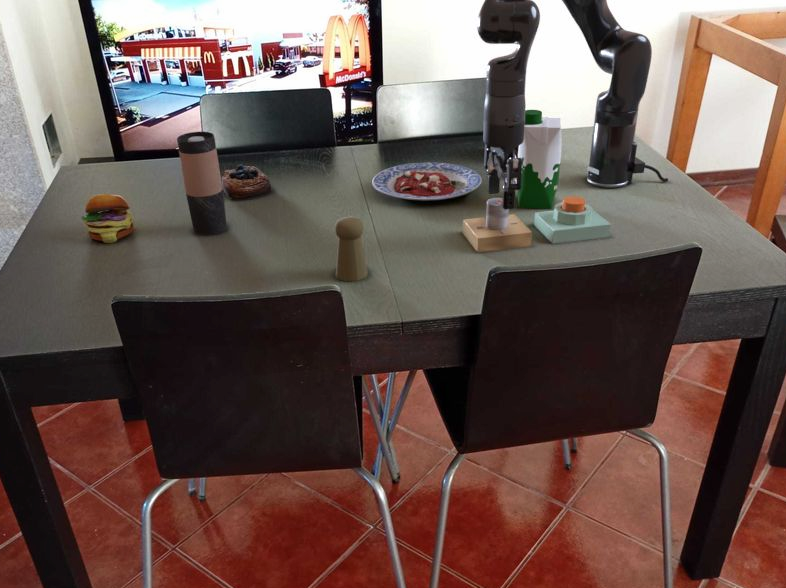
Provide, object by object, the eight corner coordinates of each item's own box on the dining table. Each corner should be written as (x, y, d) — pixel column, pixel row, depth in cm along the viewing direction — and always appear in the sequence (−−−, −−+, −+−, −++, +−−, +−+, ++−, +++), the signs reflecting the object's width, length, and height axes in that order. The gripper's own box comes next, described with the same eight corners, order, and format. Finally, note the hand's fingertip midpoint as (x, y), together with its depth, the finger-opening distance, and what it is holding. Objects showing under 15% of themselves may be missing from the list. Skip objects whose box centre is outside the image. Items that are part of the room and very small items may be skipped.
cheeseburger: (84, 247, 158) (73, 198, 155) (92, 239, 168) (82, 194, 165) (134, 241, 159) (124, 192, 156) (139, 233, 169) (130, 188, 166)
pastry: (260, 179, 190) (258, 156, 187) (276, 194, 181) (274, 170, 178) (218, 187, 187) (214, 164, 183) (232, 202, 177) (228, 178, 174)
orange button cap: (578, 204, 155) (579, 195, 154) (588, 212, 152) (589, 202, 151) (558, 207, 155) (559, 197, 154) (567, 214, 151) (568, 205, 150)
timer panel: (513, 227, 158) (514, 213, 157) (530, 246, 150) (532, 231, 148) (462, 233, 157) (463, 218, 155) (477, 252, 148) (478, 237, 147)
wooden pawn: (334, 268, 145) (331, 213, 139) (366, 266, 145) (364, 211, 139) (336, 282, 140) (332, 226, 134) (369, 279, 140) (366, 224, 134)
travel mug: (234, 223, 166) (221, 132, 155) (217, 237, 160) (202, 143, 149) (203, 220, 168) (188, 130, 158) (185, 234, 162) (169, 140, 152)
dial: (482, 223, 153) (483, 197, 150) (502, 220, 154) (503, 195, 151) (491, 231, 150) (492, 205, 147) (511, 227, 150) (513, 202, 148)
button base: (587, 219, 161) (590, 196, 158) (609, 237, 152) (612, 213, 150) (534, 225, 159) (535, 202, 156) (552, 243, 151) (554, 220, 148)
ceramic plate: (355, 201, 175) (355, 189, 173) (394, 167, 195) (394, 155, 193) (463, 213, 166) (464, 200, 164) (493, 176, 186) (493, 164, 184)
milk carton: (515, 195, 174) (521, 106, 164) (556, 196, 173) (564, 107, 162) (514, 209, 167) (520, 117, 157) (556, 210, 165) (565, 118, 155)
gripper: (472, 110, 146) (471, 191, 154) (497, 129, 134) (494, 216, 142) (510, 106, 147) (506, 186, 155) (538, 125, 135) (532, 211, 143)
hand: (500, 200), depth 149 cm, fingers open, 8 cm apart
